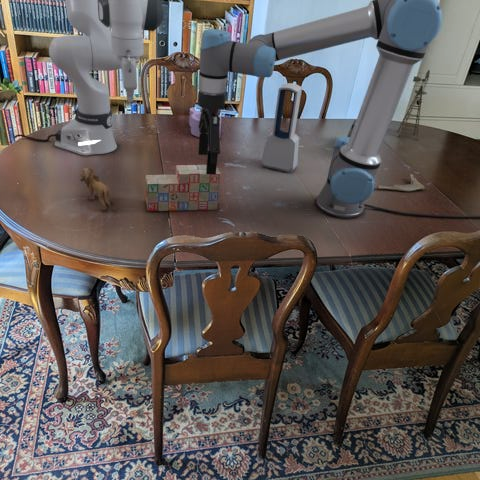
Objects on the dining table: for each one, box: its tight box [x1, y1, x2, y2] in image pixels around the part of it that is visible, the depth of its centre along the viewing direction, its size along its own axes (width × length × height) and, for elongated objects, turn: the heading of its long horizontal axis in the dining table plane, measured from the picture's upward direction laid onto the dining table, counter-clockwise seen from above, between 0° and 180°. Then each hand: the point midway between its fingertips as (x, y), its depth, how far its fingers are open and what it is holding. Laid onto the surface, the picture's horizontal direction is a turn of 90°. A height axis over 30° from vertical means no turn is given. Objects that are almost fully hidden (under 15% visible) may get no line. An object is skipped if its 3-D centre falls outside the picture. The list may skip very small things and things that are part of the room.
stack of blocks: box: [145, 164, 221, 212], centre depth 141 cm, size 21×6×12 cm, turn 104°
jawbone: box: [376, 173, 426, 193], centre depth 169 cm, size 9×20×2 cm, turn 126°
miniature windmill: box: [397, 69, 431, 140], centre depth 212 cm, size 9×8×30 cm
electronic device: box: [260, 82, 303, 173], centre depth 167 cm, size 12×8×30 cm, turn 71°
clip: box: [188, 106, 222, 138], centre depth 199 cm, size 20×12×7 cm, turn 23°
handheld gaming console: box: [346, 119, 357, 137], centre depth 194 cm, size 23×3×10 cm, turn 161°
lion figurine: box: [77, 167, 116, 211], centre depth 139 cm, size 15×5×9 cm, turn 50°
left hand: (129, 96), depth 139 cm, fingers open, 8 cm apart
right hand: (206, 163), depth 138 cm, fingers open, 13 cm apart
